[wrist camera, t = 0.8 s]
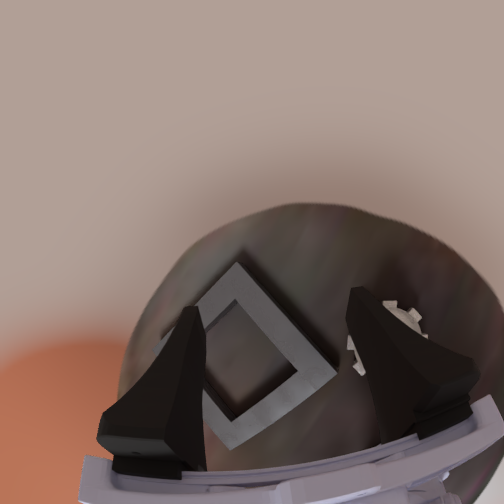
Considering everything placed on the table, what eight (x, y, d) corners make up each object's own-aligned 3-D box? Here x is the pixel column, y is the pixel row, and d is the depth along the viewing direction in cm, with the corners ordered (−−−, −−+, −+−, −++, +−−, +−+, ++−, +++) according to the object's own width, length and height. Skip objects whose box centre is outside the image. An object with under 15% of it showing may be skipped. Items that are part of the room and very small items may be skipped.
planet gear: (437, 338, 22) (454, 346, 17) (381, 392, 23) (385, 413, 18) (388, 284, 24) (395, 280, 19) (332, 339, 25) (325, 348, 20)
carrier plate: (338, 369, 25) (337, 373, 23) (236, 444, 27) (230, 450, 25) (242, 263, 30) (236, 261, 28) (160, 348, 32) (152, 349, 30)
